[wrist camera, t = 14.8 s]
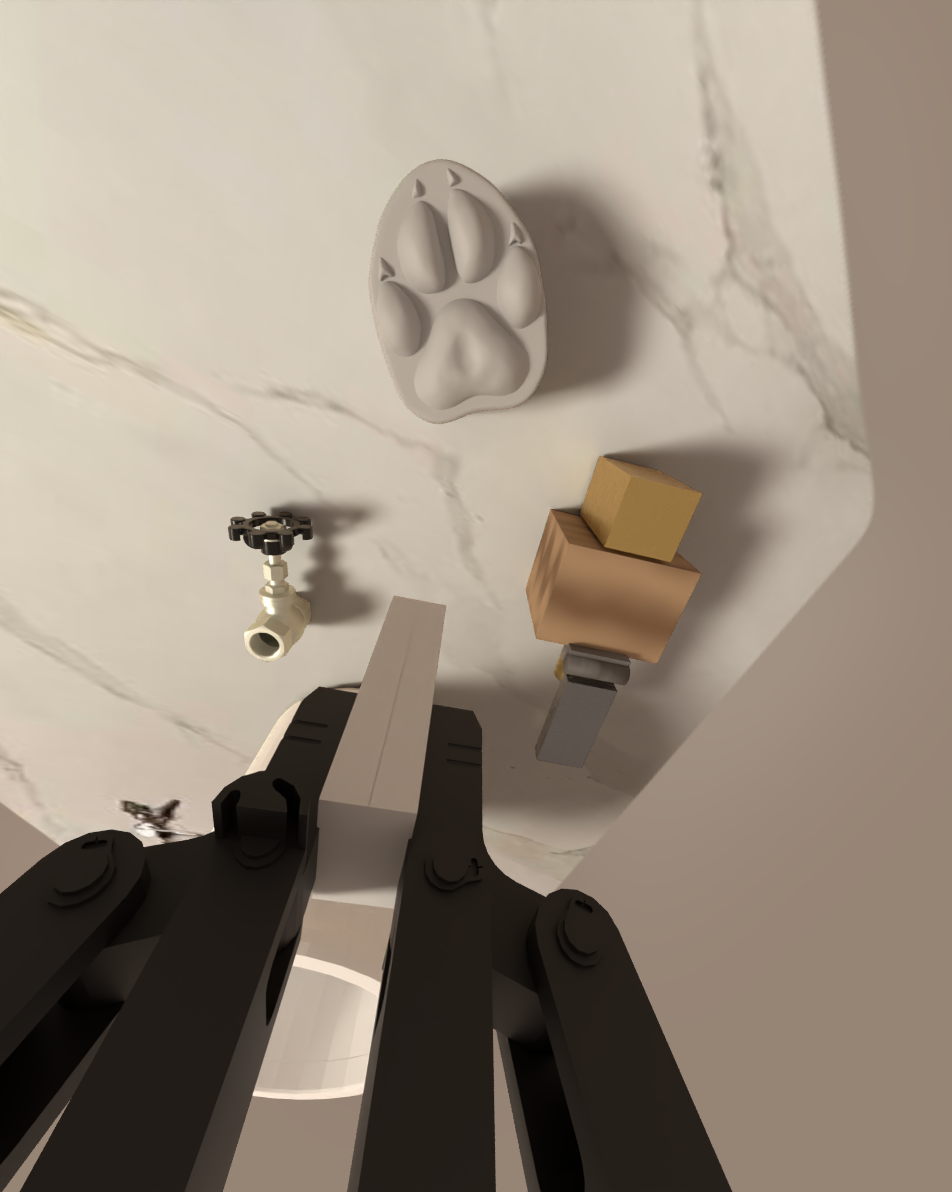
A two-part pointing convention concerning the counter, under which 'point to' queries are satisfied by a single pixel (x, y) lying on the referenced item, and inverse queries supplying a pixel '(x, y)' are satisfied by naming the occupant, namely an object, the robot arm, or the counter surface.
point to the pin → (636, 512)
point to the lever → (574, 720)
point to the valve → (274, 583)
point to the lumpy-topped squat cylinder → (457, 295)
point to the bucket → (325, 989)
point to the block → (603, 600)
